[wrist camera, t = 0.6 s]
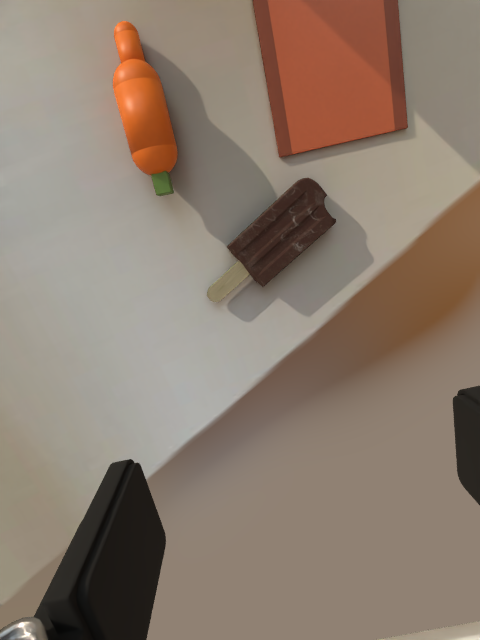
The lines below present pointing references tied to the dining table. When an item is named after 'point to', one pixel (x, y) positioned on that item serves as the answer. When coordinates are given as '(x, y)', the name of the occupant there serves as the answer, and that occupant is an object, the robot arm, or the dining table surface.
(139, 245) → the dining table surface
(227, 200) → the dining table surface
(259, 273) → the ice cream bar
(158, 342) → the dining table surface
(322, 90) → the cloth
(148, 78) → the carrot
